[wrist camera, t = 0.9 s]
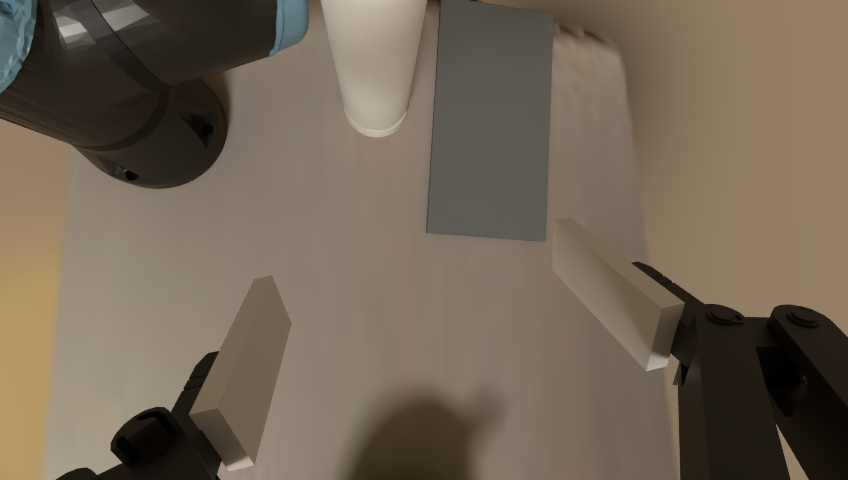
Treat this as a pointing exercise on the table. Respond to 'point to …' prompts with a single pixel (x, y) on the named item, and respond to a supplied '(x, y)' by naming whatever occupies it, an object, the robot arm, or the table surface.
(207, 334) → the table surface
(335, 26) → the bottle
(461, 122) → the mat
